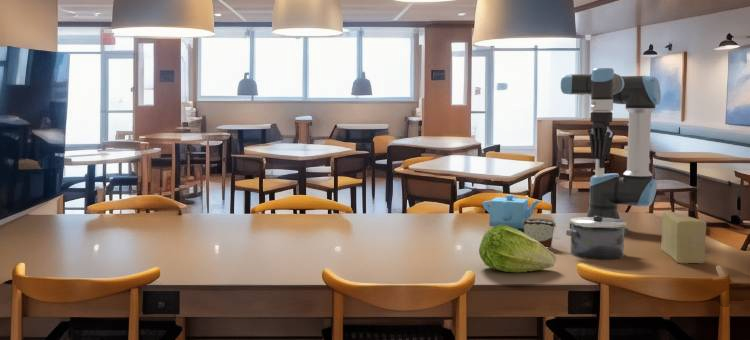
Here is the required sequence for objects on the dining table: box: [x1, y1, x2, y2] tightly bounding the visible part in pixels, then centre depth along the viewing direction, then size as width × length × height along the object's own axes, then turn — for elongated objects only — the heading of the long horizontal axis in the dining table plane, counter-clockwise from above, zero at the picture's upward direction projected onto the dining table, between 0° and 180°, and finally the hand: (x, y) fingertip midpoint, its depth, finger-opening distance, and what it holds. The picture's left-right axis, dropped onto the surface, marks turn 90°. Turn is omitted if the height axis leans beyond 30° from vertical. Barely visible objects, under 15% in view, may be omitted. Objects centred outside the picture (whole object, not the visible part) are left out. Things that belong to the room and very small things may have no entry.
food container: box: [522, 217, 557, 249], centre depth 265 cm, size 12×6×10 cm, turn 71°
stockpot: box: [565, 223, 629, 261], centre depth 252 cm, size 20×23×10 cm
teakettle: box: [482, 194, 542, 230], centre depth 298 cm, size 19×19×15 cm
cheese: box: [660, 210, 707, 265], centre depth 248 cm, size 22×10×15 cm, turn 1°
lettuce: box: [478, 225, 558, 273], centre depth 226 cm, size 15×24×16 cm
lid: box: [569, 216, 627, 228], centre depth 251 cm, size 20×19×4 cm
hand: (599, 176), depth 255 cm, fingers closed
